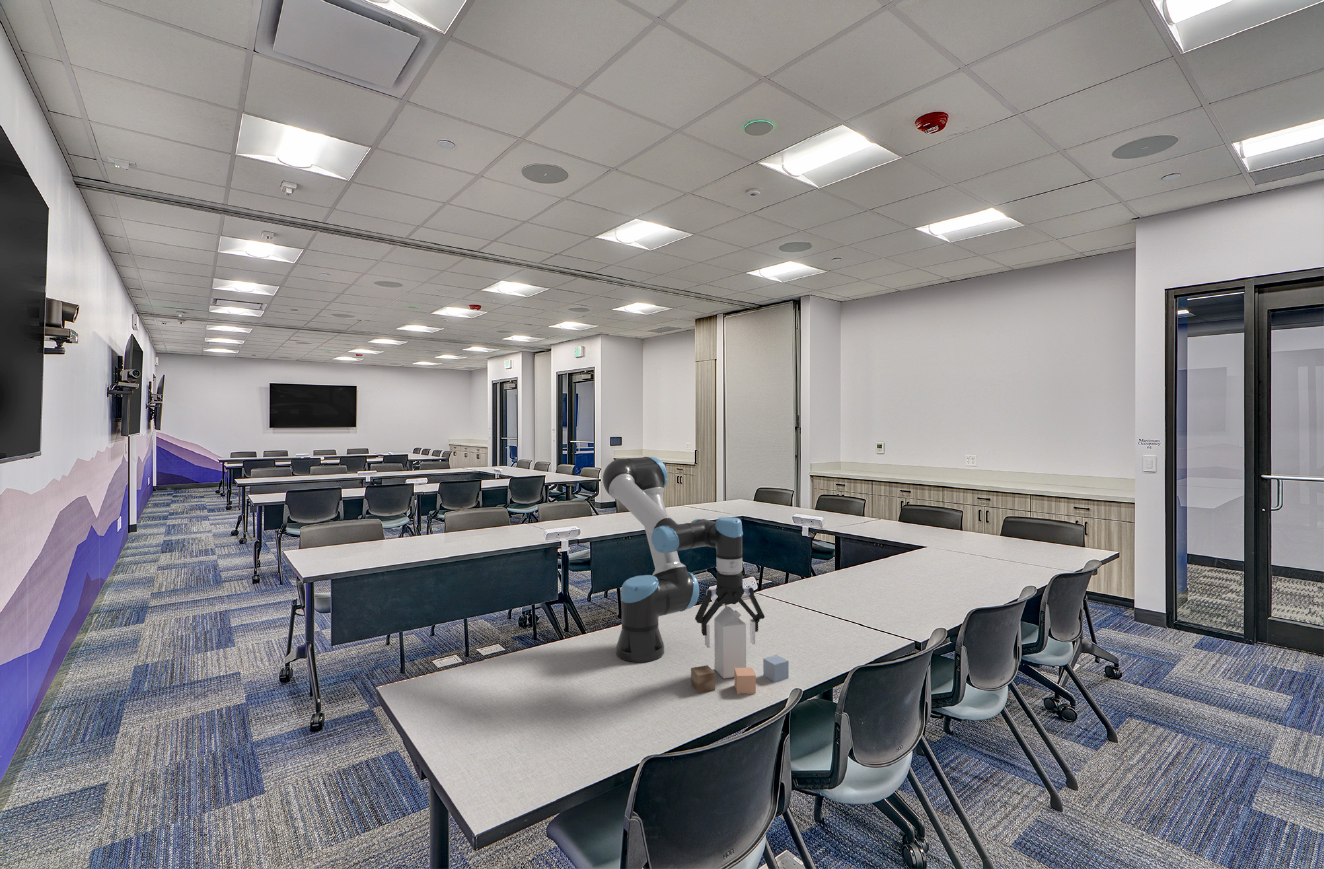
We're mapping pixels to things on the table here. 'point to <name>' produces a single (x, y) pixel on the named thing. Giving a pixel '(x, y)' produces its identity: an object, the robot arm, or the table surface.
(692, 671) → the walnut cube
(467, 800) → the table surface
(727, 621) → the milk carton
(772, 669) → the slate cube
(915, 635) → the table surface
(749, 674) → the terracotta cube
